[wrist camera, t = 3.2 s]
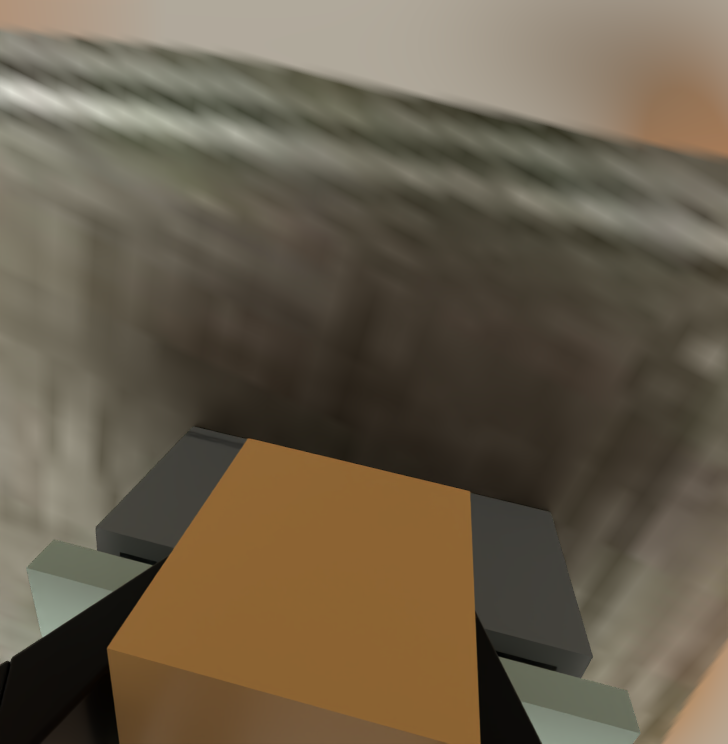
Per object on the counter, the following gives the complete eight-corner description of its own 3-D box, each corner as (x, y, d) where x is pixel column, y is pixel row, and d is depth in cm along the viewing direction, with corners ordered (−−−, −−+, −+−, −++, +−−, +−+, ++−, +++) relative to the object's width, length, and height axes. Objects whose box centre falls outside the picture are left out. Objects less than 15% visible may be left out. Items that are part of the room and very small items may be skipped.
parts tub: (427, 802, 23) (420, 999, 17) (183, 732, 24) (106, 899, 18) (550, 511, 16) (604, 696, 10) (192, 426, 16) (69, 554, 11)
